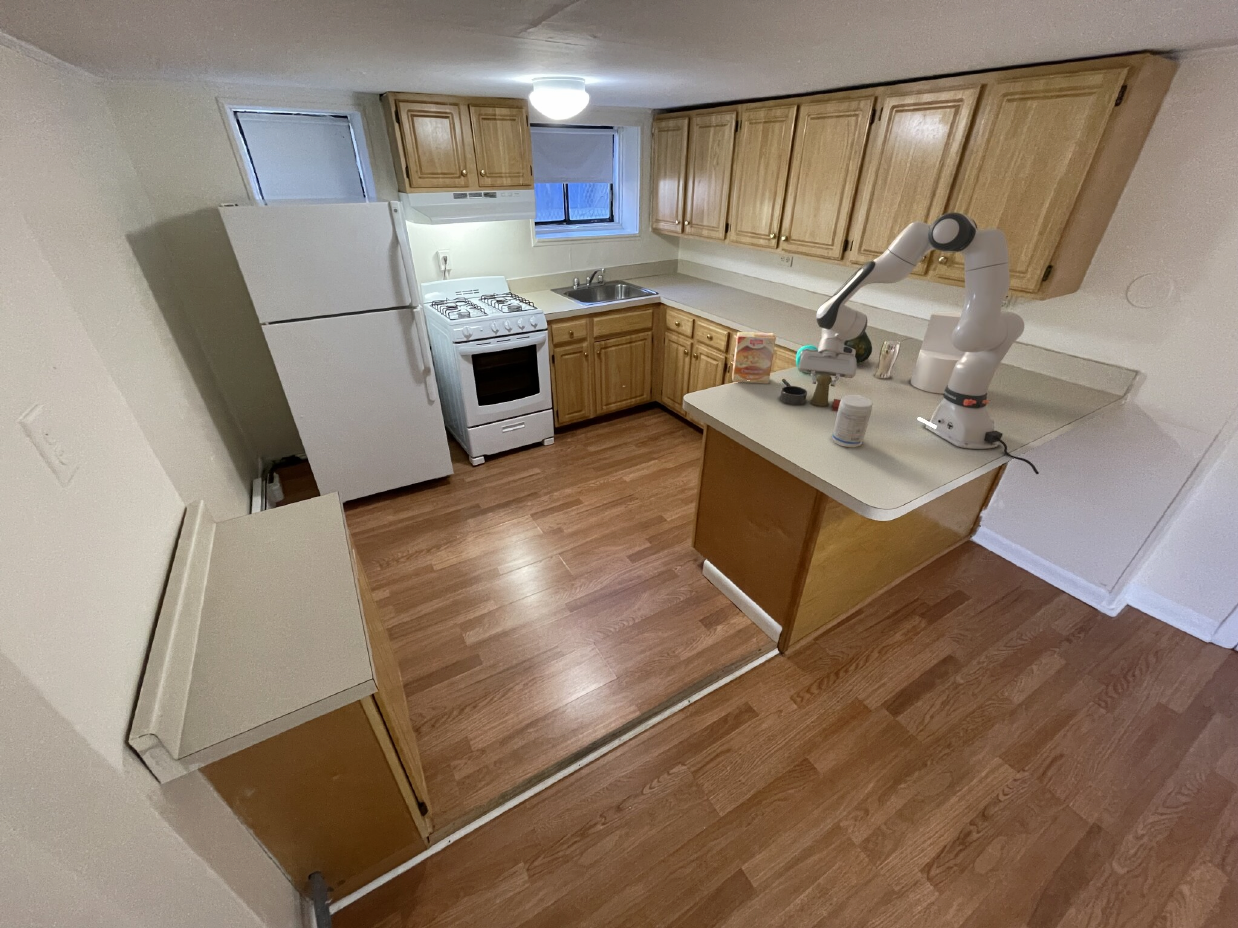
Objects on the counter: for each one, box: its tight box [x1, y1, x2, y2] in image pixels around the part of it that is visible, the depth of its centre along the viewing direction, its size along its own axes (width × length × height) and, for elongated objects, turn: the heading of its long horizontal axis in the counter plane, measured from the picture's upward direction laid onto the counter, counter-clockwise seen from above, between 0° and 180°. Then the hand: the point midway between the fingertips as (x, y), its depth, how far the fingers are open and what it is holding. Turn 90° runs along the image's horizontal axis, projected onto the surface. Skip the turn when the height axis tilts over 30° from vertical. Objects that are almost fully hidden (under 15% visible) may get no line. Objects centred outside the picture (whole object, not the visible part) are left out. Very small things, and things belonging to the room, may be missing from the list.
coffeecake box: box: [731, 331, 777, 384], centre depth 210 cm, size 15×7×20 cm, turn 82°
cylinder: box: [910, 311, 966, 395], centre depth 202 cm, size 17×17×28 cm
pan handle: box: [781, 378, 792, 387], centre depth 202 cm, size 8×1×1 cm, turn 3°
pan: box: [779, 385, 808, 406], centre depth 196 cm, size 9×9×4 cm
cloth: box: [831, 398, 841, 412], centre depth 190 cm, size 8×7×1 cm
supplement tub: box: [831, 394, 874, 448], centre depth 164 cm, size 10×10×15 cm
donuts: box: [795, 344, 818, 368], centre depth 223 cm, size 10×10×10 cm
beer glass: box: [874, 339, 902, 380], centre depth 214 cm, size 7×7×15 cm
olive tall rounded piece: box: [810, 374, 833, 407], centre depth 191 cm, size 6×6×11 cm
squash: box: [844, 331, 873, 364], centre depth 232 cm, size 14×15×15 cm
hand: (823, 384), depth 189 cm, fingers closed on olive tall rounded piece, 5 cm apart
